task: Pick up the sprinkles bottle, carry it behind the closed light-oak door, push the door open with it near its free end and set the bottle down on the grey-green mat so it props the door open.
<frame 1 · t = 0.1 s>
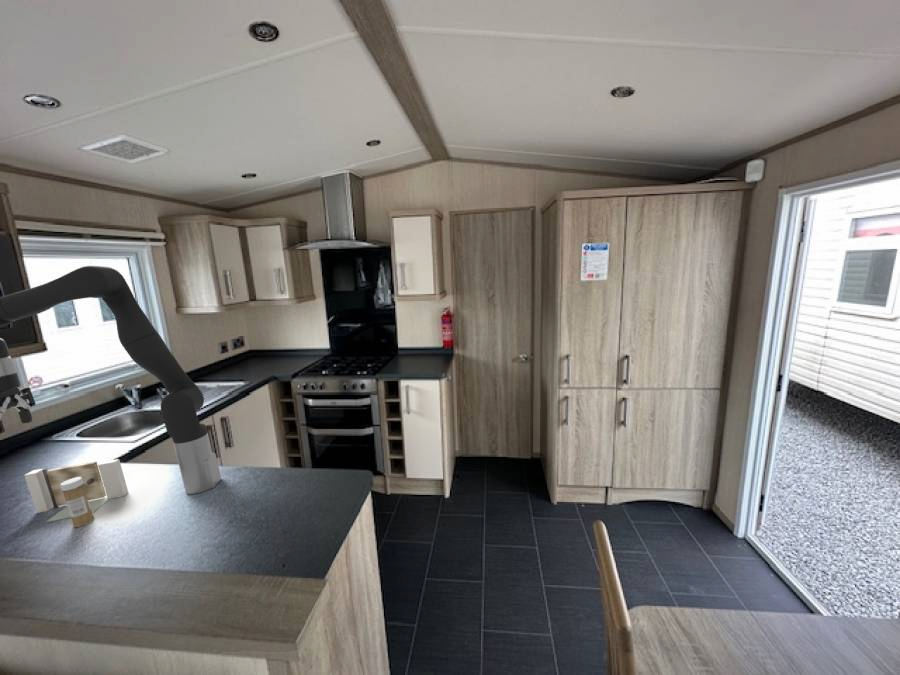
hand: (14, 427, 109), 29 cm above the counter, fingers open, 8 cm apart
sprinkles bottle: (84, 523, 108), on the counter
hinge post: (46, 509, 118), on the counter
door: (73, 485, 118), point 7 cm above the counter, hinge at 0.0°
wall: (118, 495, 122), on the counter
mat: (80, 509, 116), on the counter
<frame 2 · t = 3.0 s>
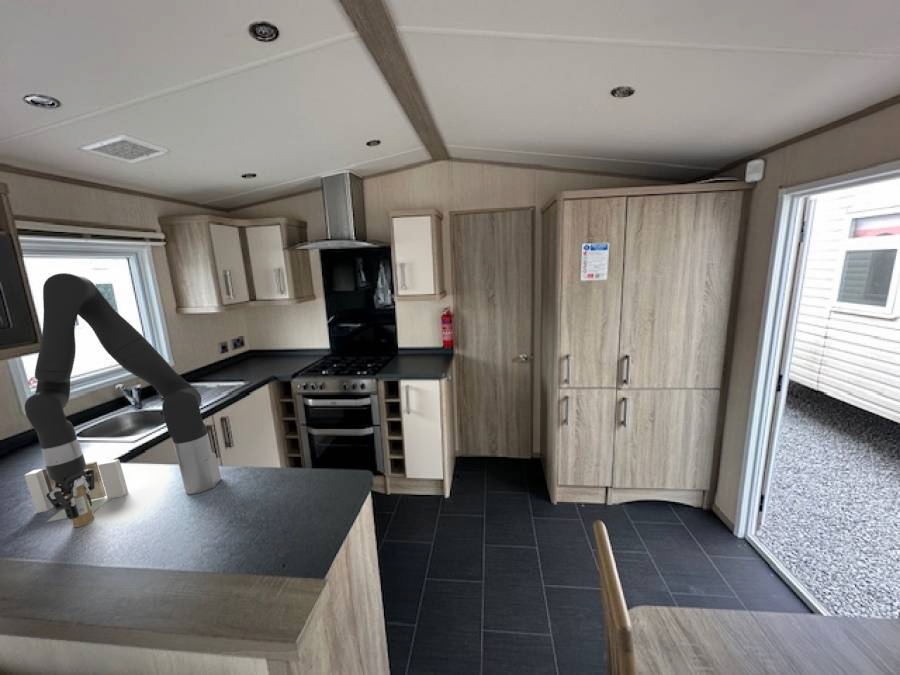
hand: (80, 512, 108), 3 cm above the counter, fingers closed on sprinkles bottle, 4 cm apart
sprinkles bottle: (84, 523, 108), on the counter, touching gripper
everything else where it was.
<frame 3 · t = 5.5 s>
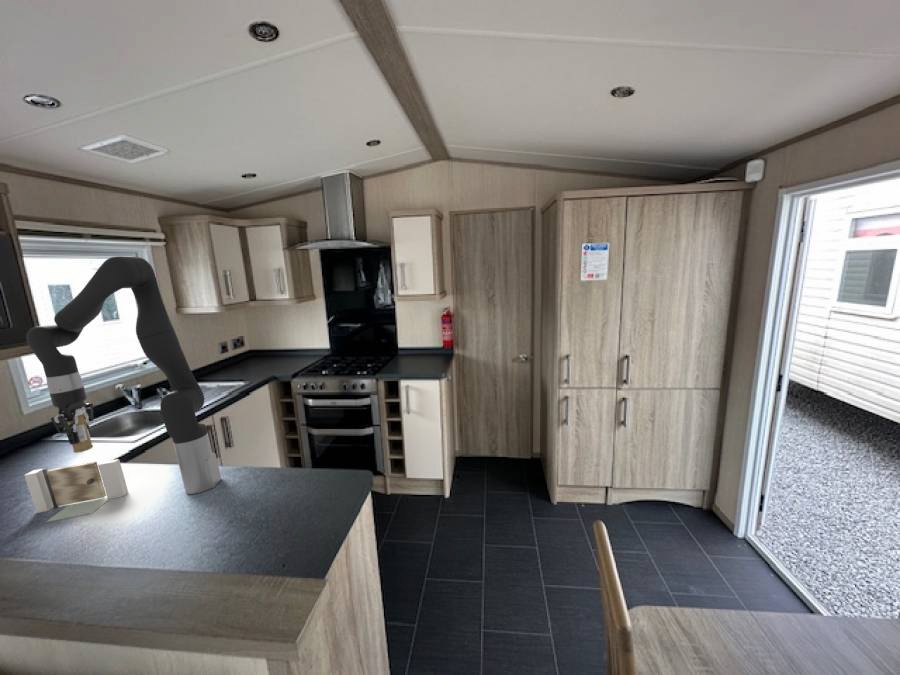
hand: (81, 440, 118), 21 cm above the counter, fingers closed on sprinkles bottle, 4 cm apart
sprinkles bottle: (83, 450, 118), point 17 cm above the counter, touching gripper
everything else where it was.
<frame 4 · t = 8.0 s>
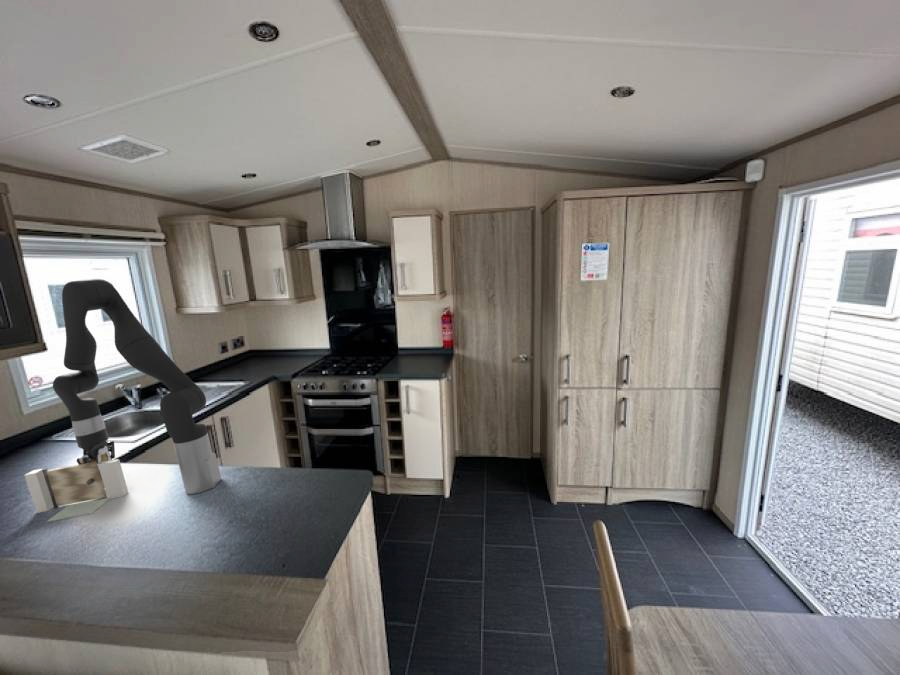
hand: (103, 477, 127), 5 cm above the counter, fingers closed on sprinkles bottle, 4 cm apart
sprinkles bottle: (106, 486, 127), point 1 cm above the counter, touching gripper
door: (73, 485, 118), point 7 cm above the counter, hinge at 0.1°, touching hand
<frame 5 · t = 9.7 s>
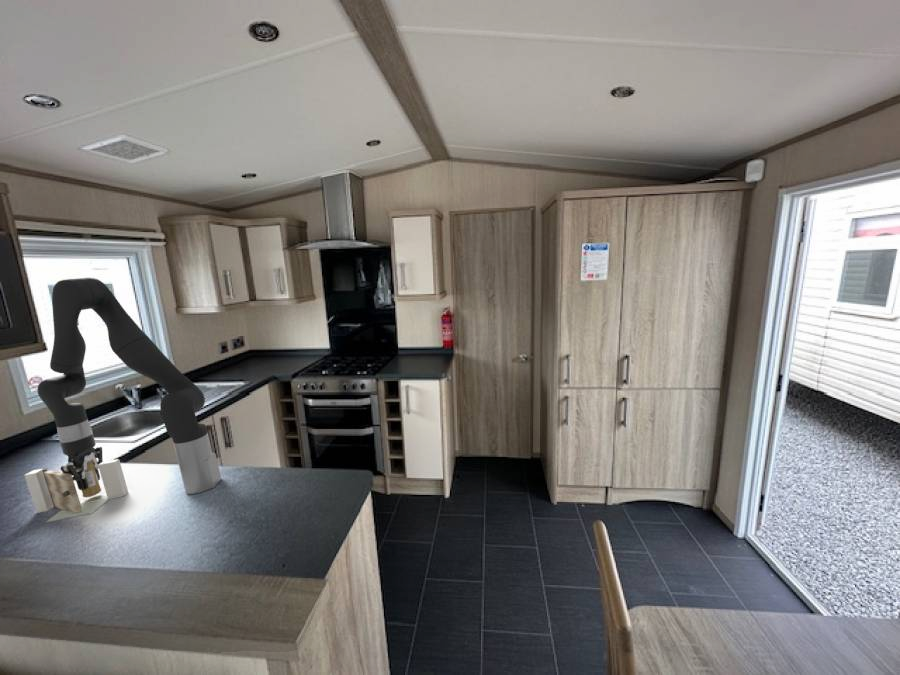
hand: (90, 484, 122), 5 cm above the counter, fingers closed on sprinkles bottle, 4 cm apart
sprinkles bottle: (92, 494, 122), point 1 cm above the counter, touching gripper
door: (59, 492, 115), point 7 cm above the counter, hinge at 32.3°, touching hand
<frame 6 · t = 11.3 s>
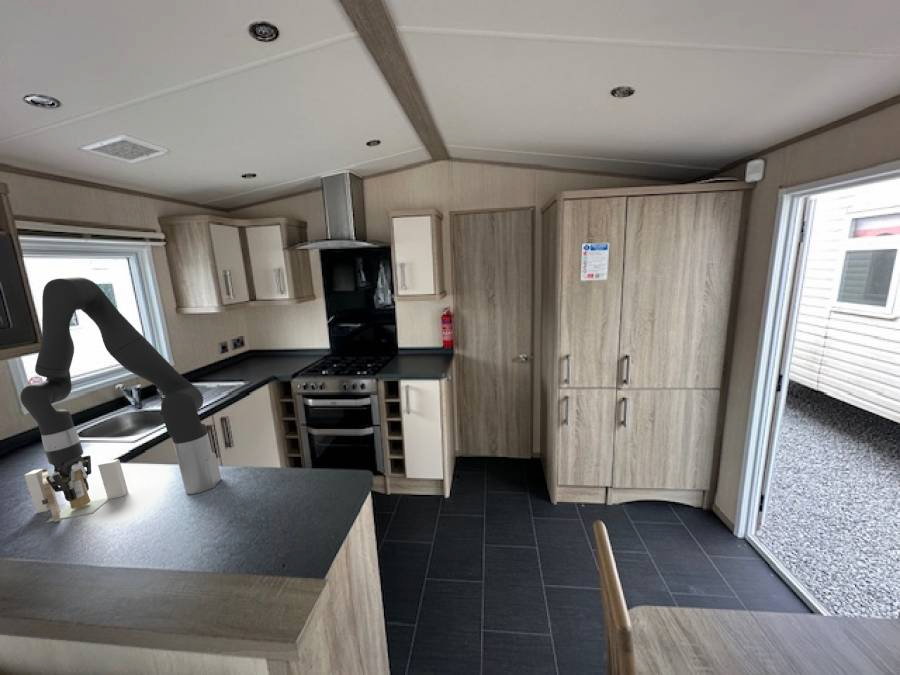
hand: (78, 495, 116), 5 cm above the counter, fingers closed on sprinkles bottle, 4 cm apart
sprinkles bottle: (81, 505, 116), point 1 cm above the counter, touching gripper
door: (48, 496, 113), point 7 cm above the counter, hinge at 52.7°
when the fingers open (4 cm above the counter, at t = 12.7 s): sprinkles bottle stays where it is, resting on mat.
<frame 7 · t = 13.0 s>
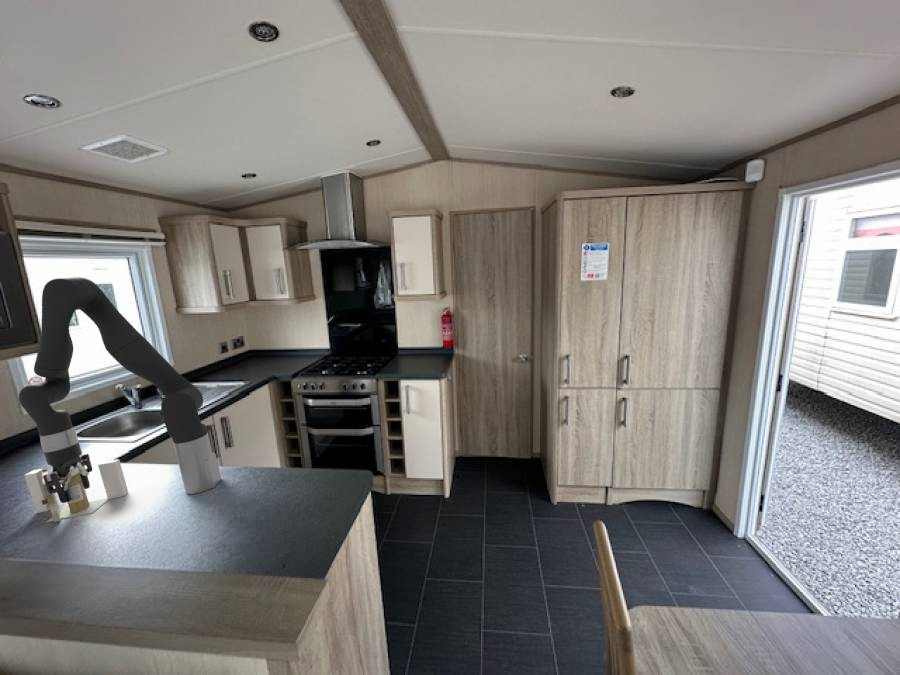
hand: (76, 494, 115), 5 cm above the counter, fingers open, 7 cm apart
sprinkles bottle: (80, 509, 116), resting on mat
everything else where it was.
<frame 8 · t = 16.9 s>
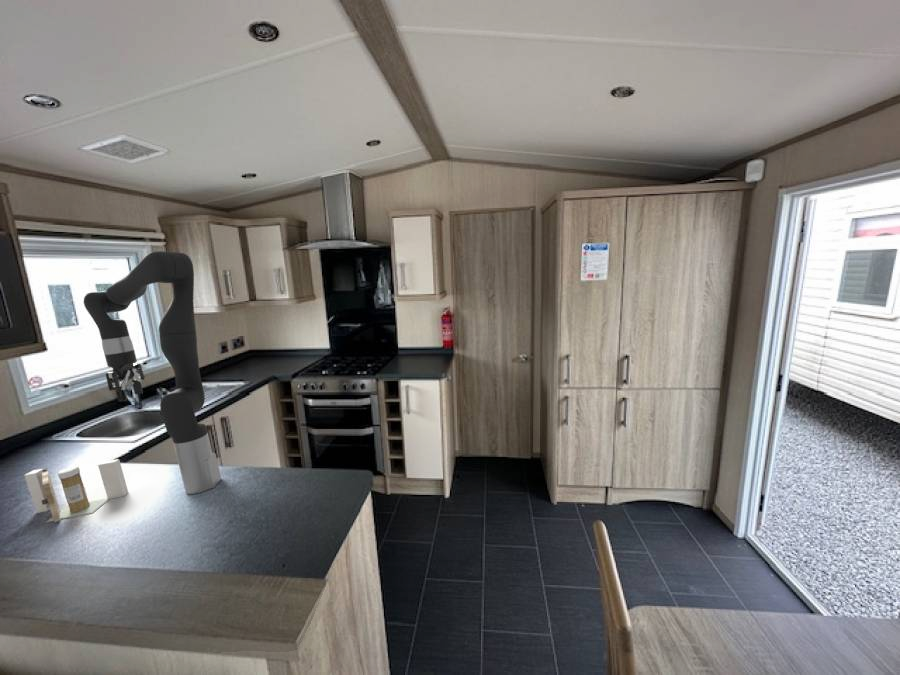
hand: (131, 397, 127), 30 cm above the counter, fingers open, 8 cm apart
nothing on the counter moved.
at the end: door at +53° (first picture: +0°); sprinkles bottle inside the target area (0.4 cm from its centre), resting on mat; sprinkles bottle tilted 0° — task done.
